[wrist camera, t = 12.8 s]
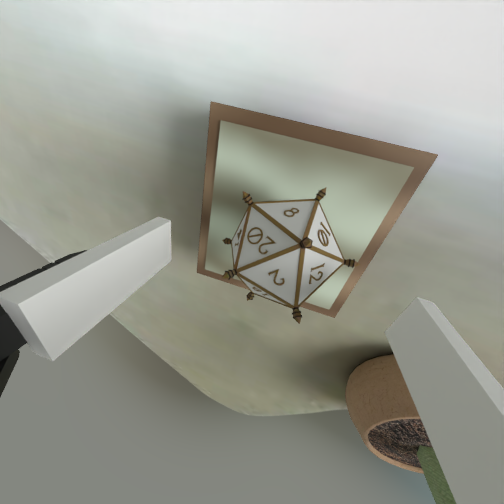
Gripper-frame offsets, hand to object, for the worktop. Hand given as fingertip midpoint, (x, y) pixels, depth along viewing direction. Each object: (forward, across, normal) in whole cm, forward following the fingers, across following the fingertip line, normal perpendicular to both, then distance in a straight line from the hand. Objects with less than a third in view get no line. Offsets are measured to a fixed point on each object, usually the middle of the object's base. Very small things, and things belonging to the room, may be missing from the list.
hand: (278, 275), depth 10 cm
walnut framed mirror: (+13, 0, -1) cm, 13 cm away
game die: (+8, 0, 0) cm, 8 cm away
